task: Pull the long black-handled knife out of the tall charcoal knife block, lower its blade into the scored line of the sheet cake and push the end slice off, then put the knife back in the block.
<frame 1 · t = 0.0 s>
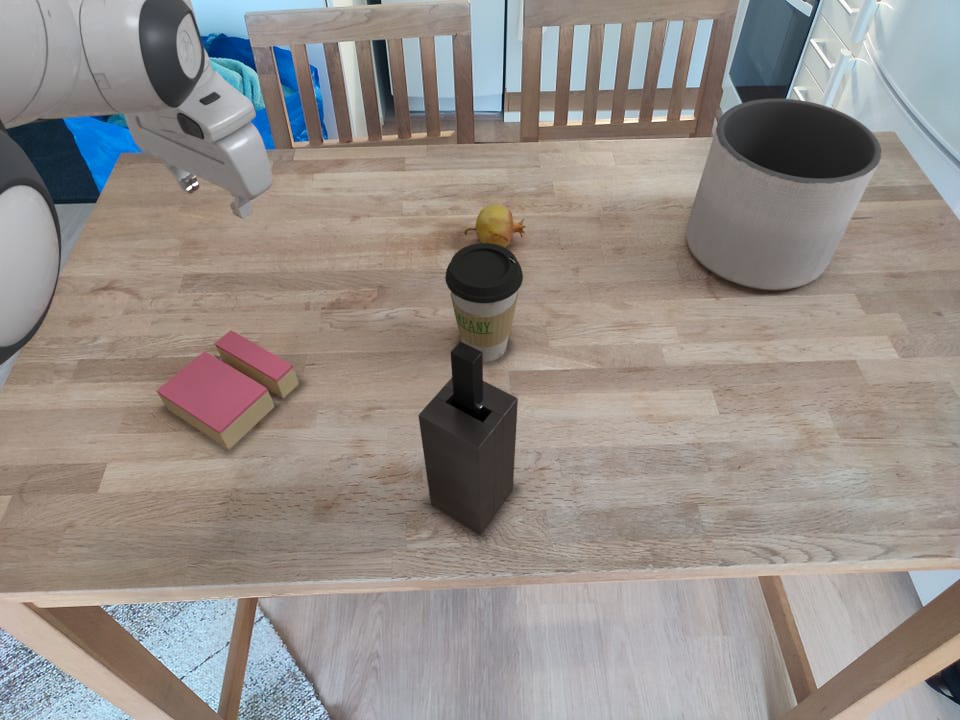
hand: (216, 201, 81), 21 cm above the table, tool pointing down, fingers open, 8 cm apart
knife block: (472, 497, 77), on the table
knife: (472, 493, 77), point 1 cm above the table, touching knife block
fruit: (495, 243, 108), on the table
cake: (221, 408, 86), on the table
coffee cup: (484, 346, 93), on the table
planter: (752, 250, 106), on the table
cake slice: (260, 373, 90), on the table
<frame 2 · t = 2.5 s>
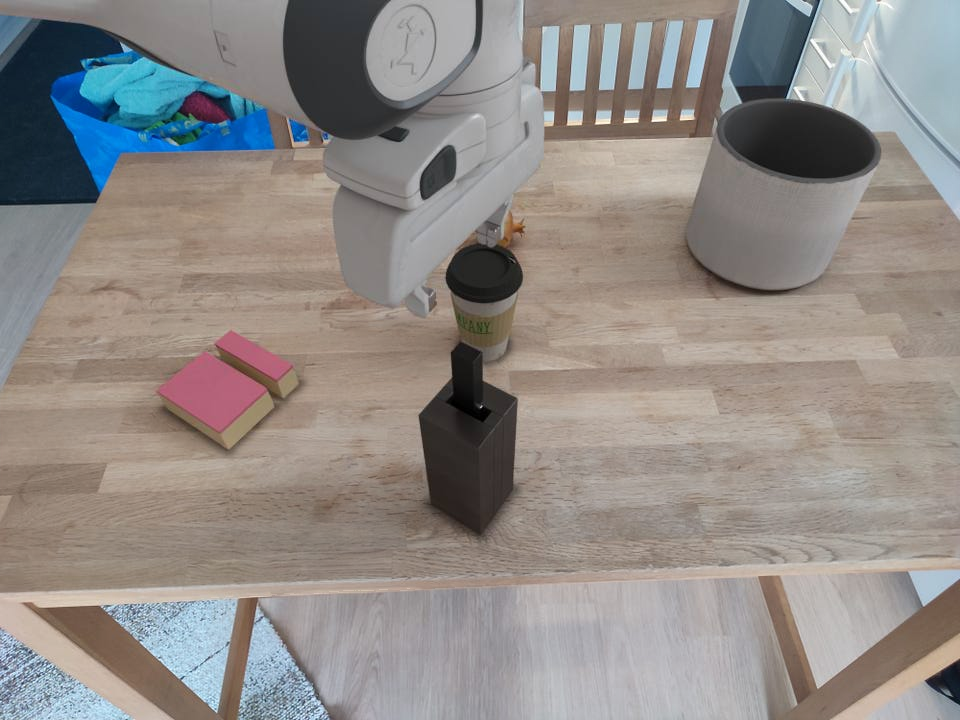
hand: (457, 273, 51), 35 cm above the table, tool pointing down, fingers open, 8 cm apart
nothing on the table moved.
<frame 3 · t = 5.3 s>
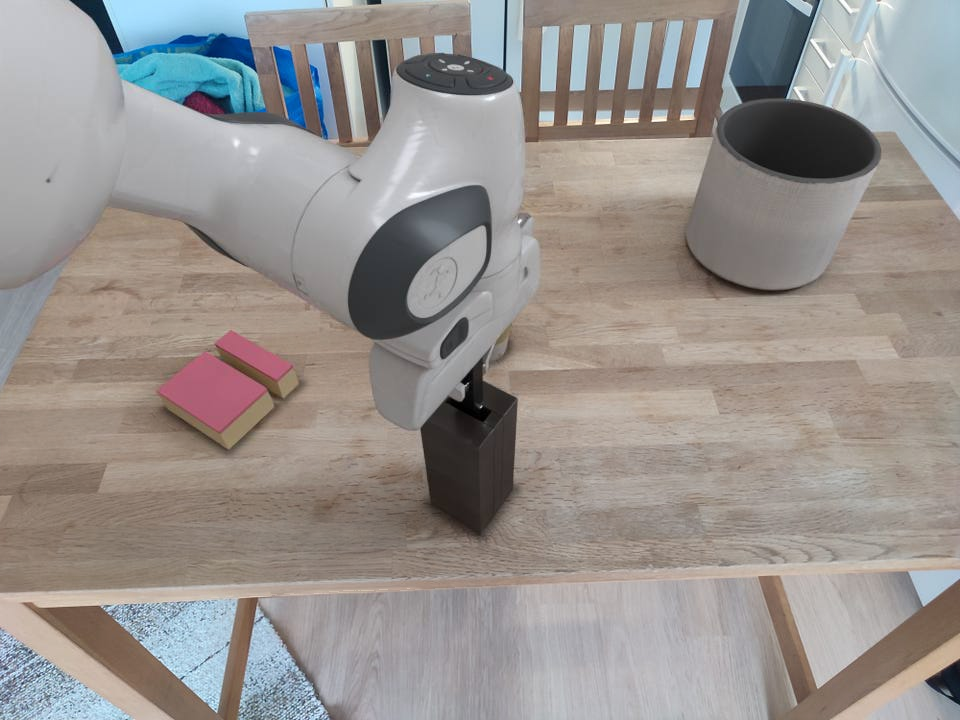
hand: (467, 383, 61), 22 cm above the table, tool pointing down, fingers closed on knife, 2 cm apart
knife: (472, 493, 77), point 1 cm above the table, touching gripper, knife block
everything else where it was.
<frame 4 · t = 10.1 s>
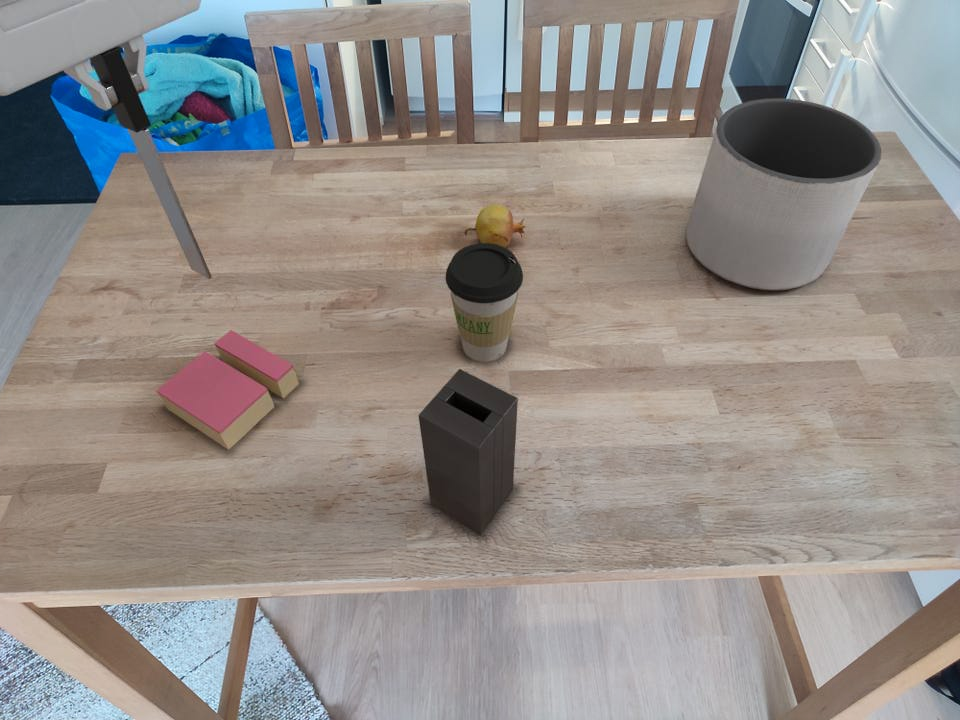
hand: (123, 98, 58), 41 cm above the table, tool pointing down, fingers closed on knife
knife: (201, 273, 74), point 20 cm above the table, touching gripper
everything else where it was.
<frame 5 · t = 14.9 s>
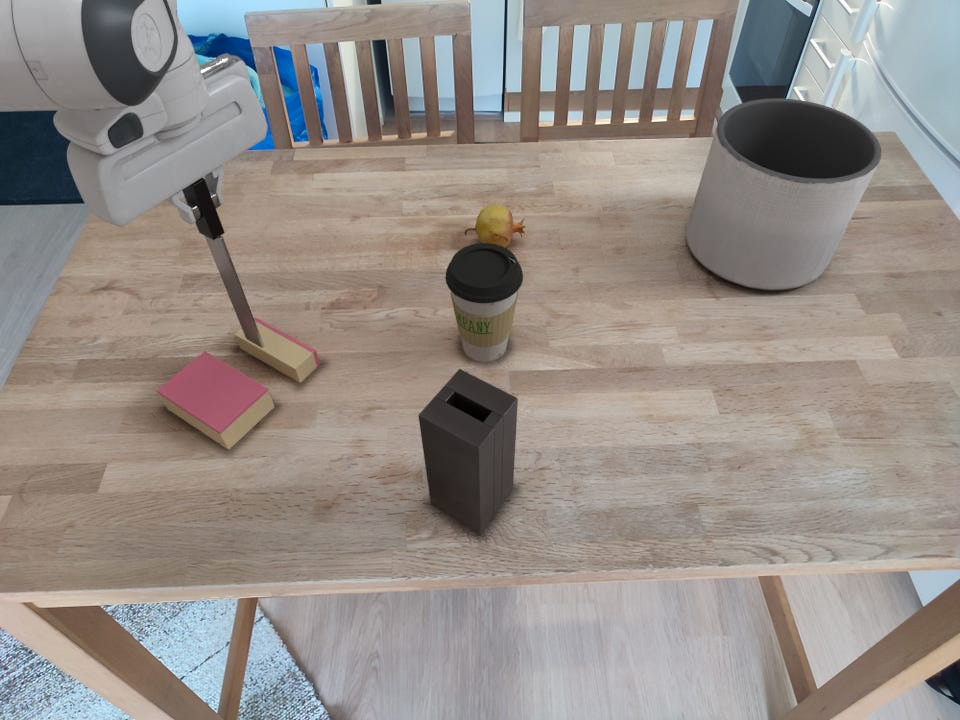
hand: (203, 212, 71), 26 cm above the table, tool pointing down, fingers closed on knife
knife: (255, 342, 87), point 5 cm above the table, touching gripper
cake slice: (266, 358, 90), point 2 cm above the table, tilted 90°
everything else where it was.
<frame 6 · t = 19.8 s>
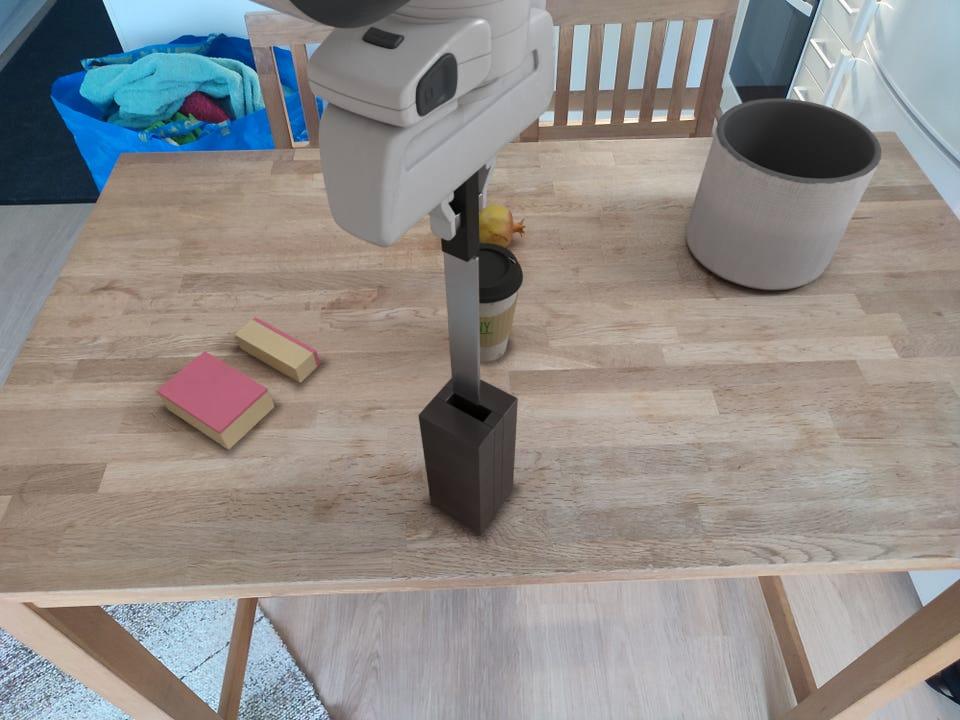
hand: (459, 221, 47), 40 cm above the table, tool pointing down, fingers closed on knife
knife: (466, 397, 63), point 19 cm above the table, touching gripper
everything else where it was.
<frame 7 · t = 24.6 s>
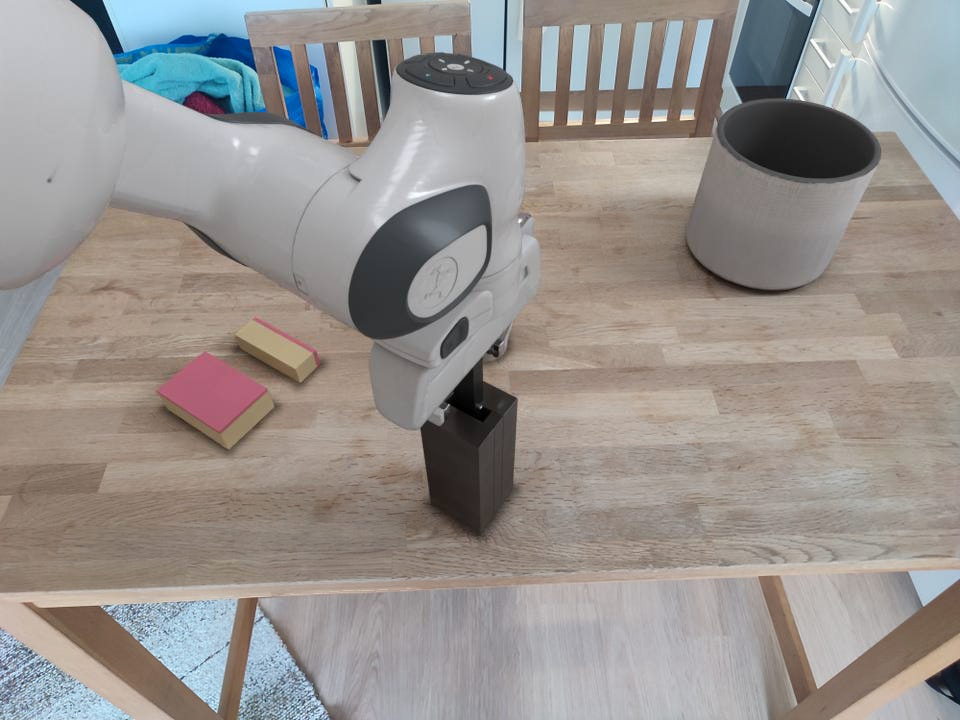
hand: (467, 382, 61), 22 cm above the table, tool pointing down, fingers open, 8 cm apart
knife: (472, 493, 77), point 1 cm above the table, touching knife block
everything else where it was.
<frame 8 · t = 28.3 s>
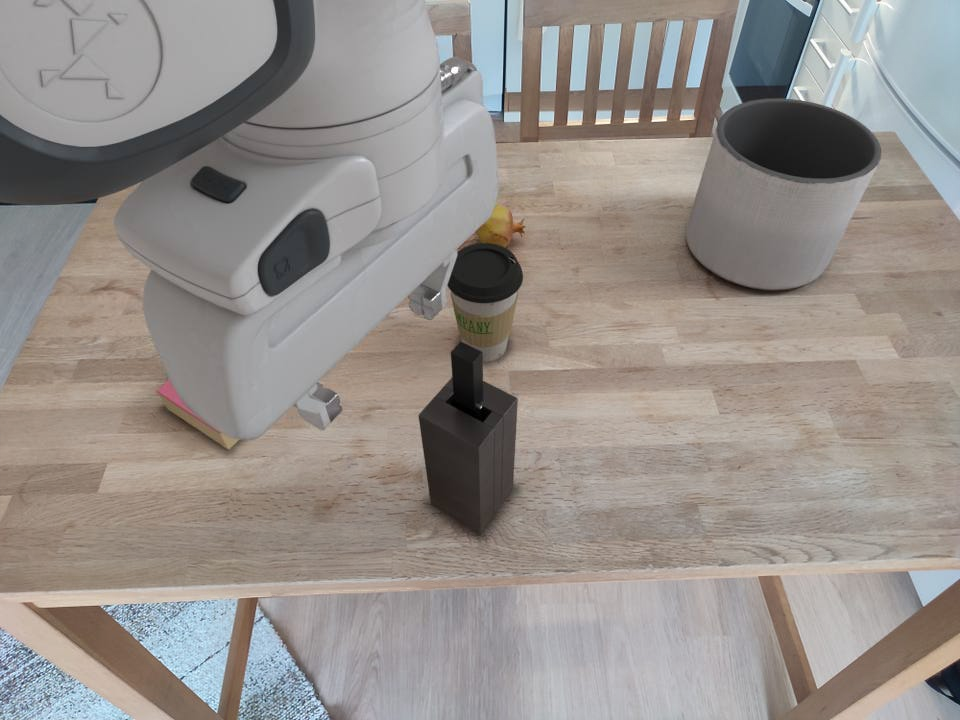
hand: (379, 359, 37), 41 cm above the table, tool pointing down, fingers open, 8 cm apart
nothing on the table moved.
at the end: cake slice moved 2.2 cm from its start; knife 0.0 cm off-centre on the knife block, point 1.0 cm above the knife block's base; the gripper is holding nothing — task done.
